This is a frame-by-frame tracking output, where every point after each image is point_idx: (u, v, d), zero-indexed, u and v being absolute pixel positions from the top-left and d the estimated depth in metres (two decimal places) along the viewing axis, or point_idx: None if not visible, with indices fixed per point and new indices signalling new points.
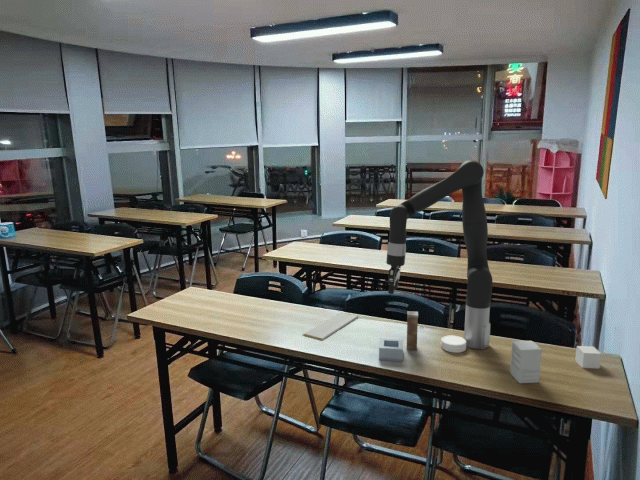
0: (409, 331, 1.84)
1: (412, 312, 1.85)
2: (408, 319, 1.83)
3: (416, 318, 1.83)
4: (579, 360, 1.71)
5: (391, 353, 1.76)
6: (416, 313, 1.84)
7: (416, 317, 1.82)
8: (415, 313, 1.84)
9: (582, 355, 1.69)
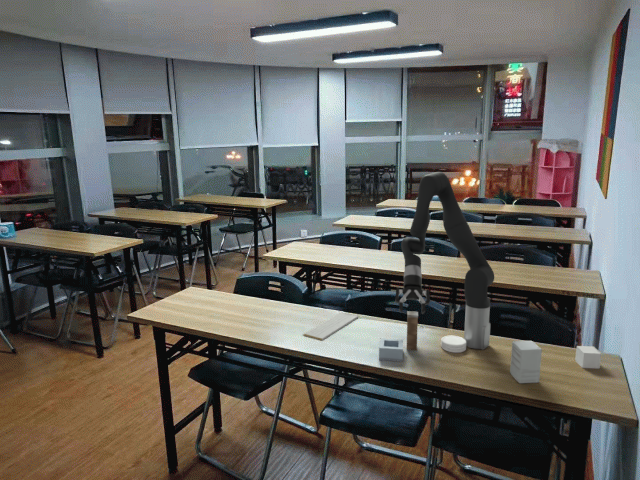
0: (409, 331, 1.84)
1: (412, 312, 1.85)
2: (408, 319, 1.83)
3: (416, 318, 1.83)
4: (579, 360, 1.71)
5: (391, 353, 1.76)
6: (416, 313, 1.84)
7: (416, 317, 1.82)
8: (415, 313, 1.84)
9: (582, 355, 1.69)
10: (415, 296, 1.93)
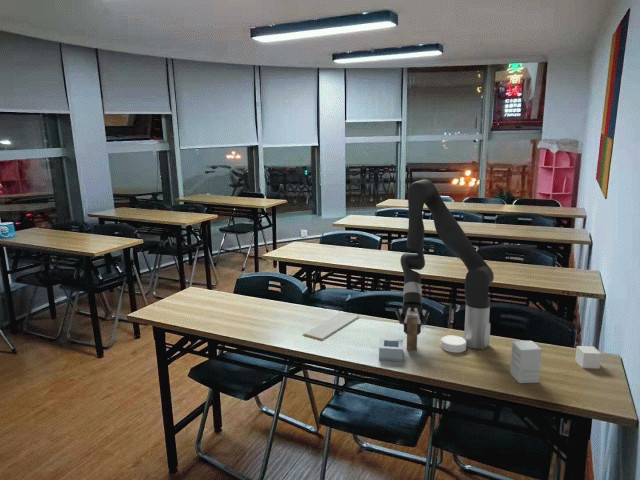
0: (409, 331, 1.84)
1: (412, 312, 1.85)
2: (408, 319, 1.83)
3: (416, 318, 1.83)
4: (579, 360, 1.71)
5: (391, 353, 1.76)
6: (416, 313, 1.84)
7: (416, 317, 1.82)
8: (415, 313, 1.84)
9: (582, 355, 1.69)
10: None
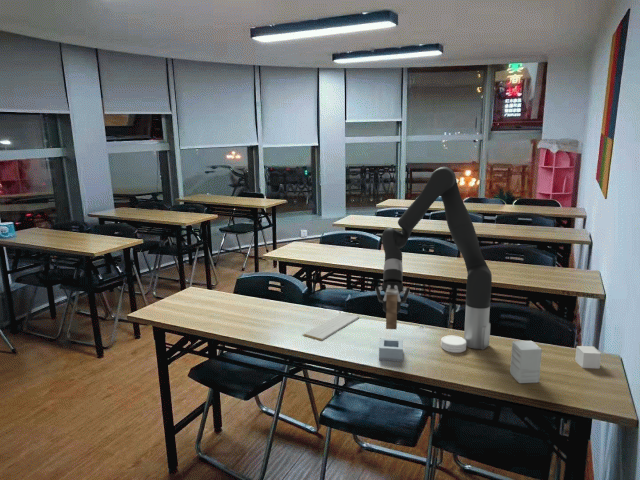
0: (388, 309, 1.76)
1: (392, 289, 1.77)
2: (387, 296, 1.75)
3: (395, 295, 1.74)
4: (579, 360, 1.71)
5: (391, 353, 1.76)
6: (396, 290, 1.76)
7: (395, 294, 1.74)
8: (395, 290, 1.76)
9: (582, 355, 1.69)
10: None
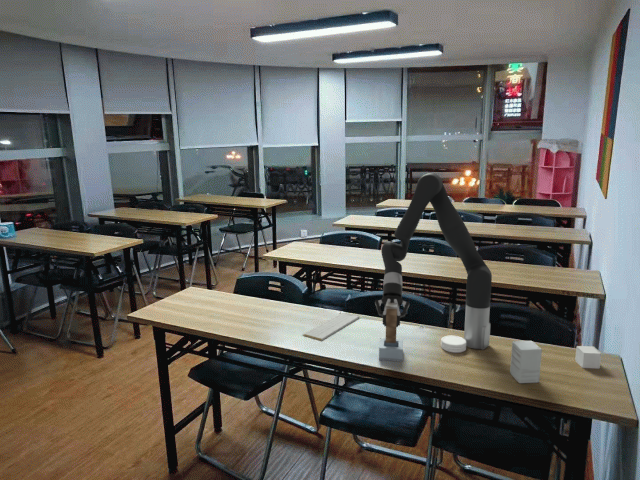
0: (388, 323, 1.77)
1: (391, 303, 1.78)
2: (387, 310, 1.76)
3: (395, 309, 1.75)
4: (579, 360, 1.71)
5: (391, 353, 1.76)
6: (395, 304, 1.77)
7: (395, 308, 1.75)
8: (394, 304, 1.77)
9: (582, 355, 1.69)
10: None
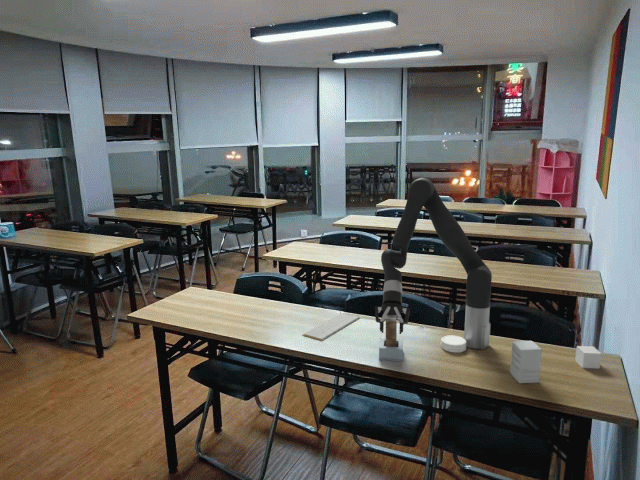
0: (388, 335, 1.78)
1: (391, 316, 1.79)
2: (386, 323, 1.77)
3: (394, 322, 1.76)
4: (579, 360, 1.71)
5: (391, 353, 1.76)
6: (395, 317, 1.78)
7: (394, 321, 1.76)
8: (394, 317, 1.78)
9: (582, 355, 1.69)
10: (394, 313, 1.80)
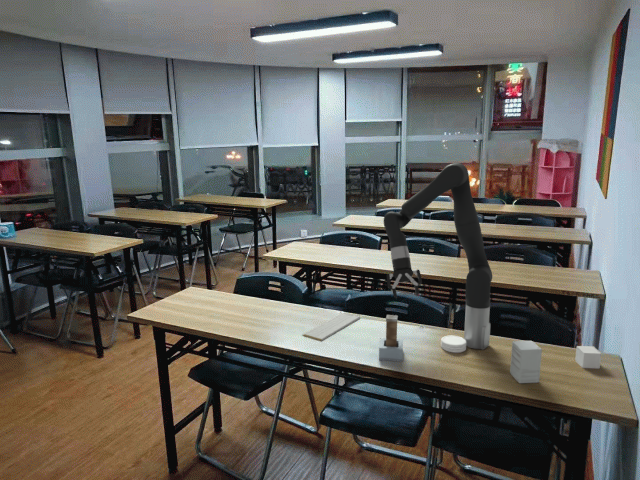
0: (388, 335, 1.78)
1: (391, 316, 1.79)
2: (387, 323, 1.77)
3: (395, 322, 1.76)
4: (579, 360, 1.71)
5: (391, 353, 1.76)
6: (395, 317, 1.78)
7: (395, 321, 1.76)
8: (394, 317, 1.78)
9: (582, 355, 1.69)
10: (407, 279, 1.91)
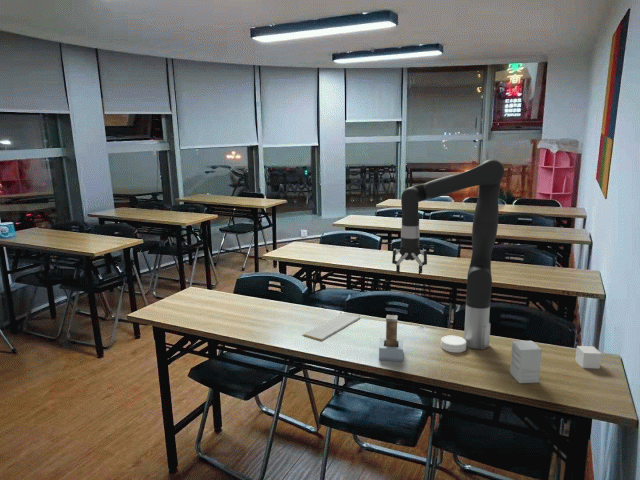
0: (388, 335, 1.78)
1: (391, 316, 1.79)
2: (387, 323, 1.77)
3: (395, 322, 1.76)
4: (579, 360, 1.71)
5: (391, 353, 1.76)
6: (395, 317, 1.78)
7: (395, 321, 1.76)
8: (394, 317, 1.78)
9: (582, 355, 1.69)
10: (412, 258, 1.90)
